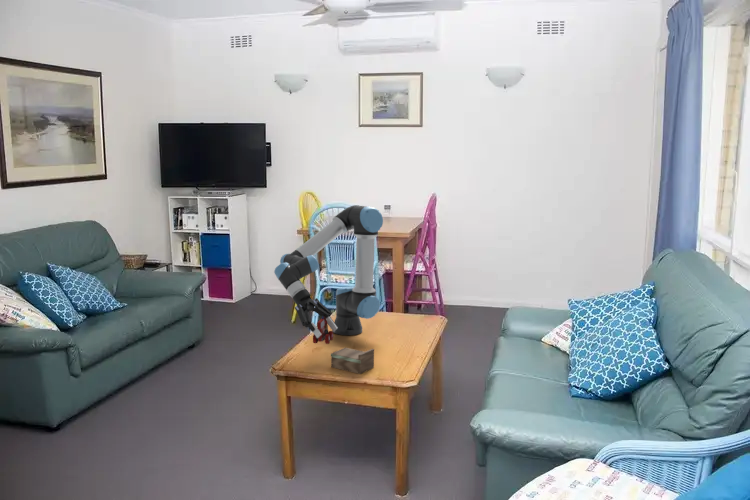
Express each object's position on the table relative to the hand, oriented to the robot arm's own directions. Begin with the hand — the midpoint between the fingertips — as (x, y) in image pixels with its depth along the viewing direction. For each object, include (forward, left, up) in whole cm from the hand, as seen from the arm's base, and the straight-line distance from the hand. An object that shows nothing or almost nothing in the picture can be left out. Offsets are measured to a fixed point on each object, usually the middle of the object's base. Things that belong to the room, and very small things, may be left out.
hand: (327, 333), depth 268 cm
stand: (+13, 0, -13) cm, 18 cm away
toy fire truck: (-3, +1, -5) cm, 5 cm away
